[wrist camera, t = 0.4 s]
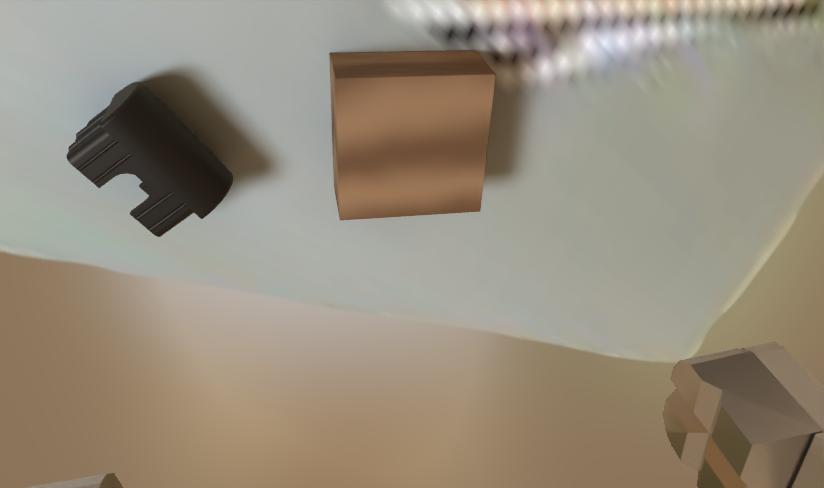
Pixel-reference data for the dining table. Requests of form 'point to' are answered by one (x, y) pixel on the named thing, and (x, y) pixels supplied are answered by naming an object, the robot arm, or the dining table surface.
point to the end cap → (151, 159)
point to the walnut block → (409, 132)
